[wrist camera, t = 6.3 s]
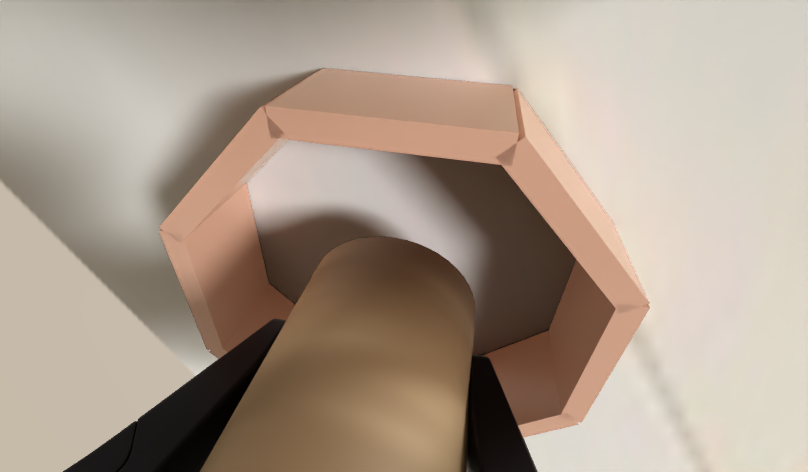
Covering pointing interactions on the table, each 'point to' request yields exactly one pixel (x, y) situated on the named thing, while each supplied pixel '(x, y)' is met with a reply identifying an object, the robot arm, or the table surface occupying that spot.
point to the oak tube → (362, 370)
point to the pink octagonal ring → (436, 137)
